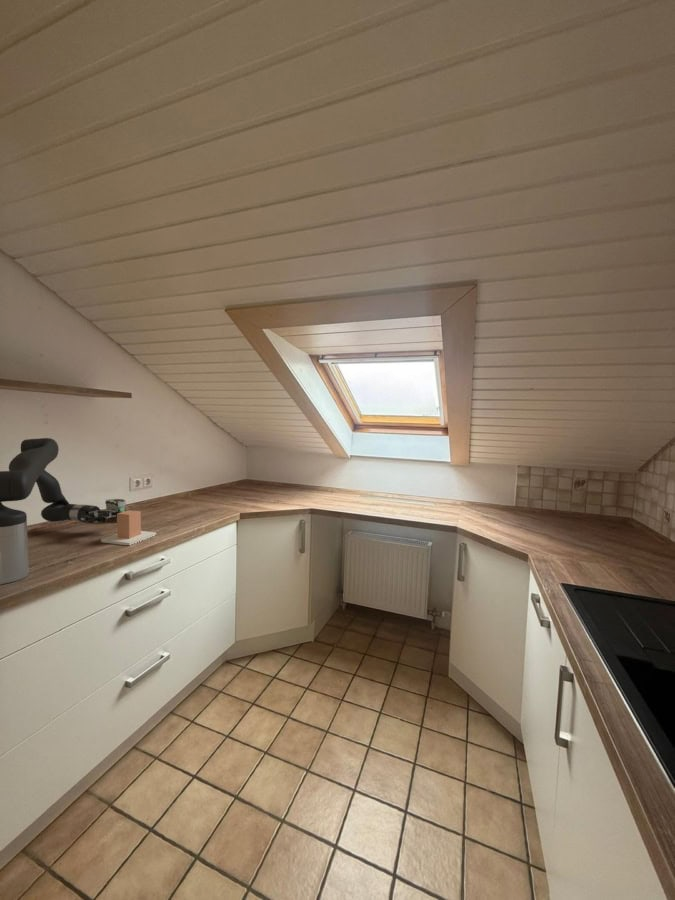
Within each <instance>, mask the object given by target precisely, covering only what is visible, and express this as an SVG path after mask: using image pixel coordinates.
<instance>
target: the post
mask: <svg viewBox="0 0 675 900" xmlns="http://www.w3.org/2000/svg"><path fill="white" fill-rule="evenodd" d="M155 535H156V536H157V532H156V531H155V532H153V531H145V530H141V535H138V536H135V537H133V538H130V539H127V538H119V537H117V533H116V534H112V535H109V536H106V537H104V538H101V539H100V542H101V543H103V544H104V543H106V544H114V545H119V546H127V545H130V546H132V545H131V544H133V545H135V544H137V542H138V543H140V542H143V541H146V540H148V539H150V537H151V538H152V536H153V537H156V536H155ZM147 538H148V539H147ZM142 540H143V541H142ZM139 541H140V542H139ZM134 543H135V544H134Z"/></svg>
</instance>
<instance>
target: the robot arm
mask: <svg viewBox="0 0 675 900" xmlns="http://www.w3.org/2000/svg"><path fill="white" fill-rule="evenodd" d="M59 449H60V448H59V444H58V442H57V441H56V440H55V439H53V438H52V437H51V438H50V437H42V438H29V439H24V440H22V441H21V444H20V453H18V454H17V455H15V457H13V458H12V460H11V461H10V462H9V464H8V470H4V471H3V470H2V471H1V470H0V586H1V585H4V584H8V583H13V582H17V581H19V580H22V579H24V578H26V577H27V576H28V575H29V549H28V548H29V547H28V544H29V543H28V519H27V518H28V517H27V513H26V512H25V511H23V510H20V509H15V508H11V507H9V506H6V505H4V504H3V502H4V503H5V502H18V501H23V500H26V499H27V498H28V497H29V496H30V495H31V493H32V491H33V489H34V487H35V484H36V485H37V488H38V492H39V495H40V497H41V500H42V501H43V502H44V503H46V504H49V505H47V506H45V507H43V509H42V510H41V512H40V516H41V517H42V518H43V520H45V521H47V522H52V523H55V522H56V523H57V522H64V521H74V522H79V523H86V524H93V523H98V522H99V523H100V522H101V523H106V522H107V521H108V520H107V518H111V517H115V516H116V517H117V514H118V513H121V512H120V509H110V508H109V509H108V510H106V509H100V507H98V506H97V505H91V504H77V503H76V504H75V503H70V502H69V501H68V500H67V499H66V497H65V496H64V494H63V492H62V489H61V484H60V483H59V480H57V478H56V477H55V476H54V475H52V474H51V473H49V472H48V471H46V468H47V466H48V465H50V463H52V462H53V461H54V460H56V458H57V457H58V456H59V455H58V454H59ZM107 514H109V516H107Z"/></svg>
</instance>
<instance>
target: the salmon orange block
mask: <svg viewBox="0 0 675 900" xmlns="http://www.w3.org/2000/svg"><path fill="white" fill-rule="evenodd" d="M141 514H142V511H139V510H131V509H130V510H129V509H128V510H124V512H121V513H118V514H117V523H116V527H117V528H116V531H117V532H116V534H117V537H119V538H127V539H130V538H133V537H135V536H138V535H141V531H142V522H141V521H142V515H141Z"/></svg>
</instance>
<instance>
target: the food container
mask: <svg viewBox="0 0 675 900" xmlns="http://www.w3.org/2000/svg"><path fill="white" fill-rule="evenodd" d="M104 503H105V508H106V509H105V510H108V509H109V508H110V509H120V512H125V508H126V505H127V502H126V500H125V499H123V498H113V499H112V498H111V499H105V502H104ZM107 516H109V514H107ZM109 520H110V522H112V521H114V522H113V523H116V522H117V517H116V516H115V517H111V518H107V521H109Z"/></svg>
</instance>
